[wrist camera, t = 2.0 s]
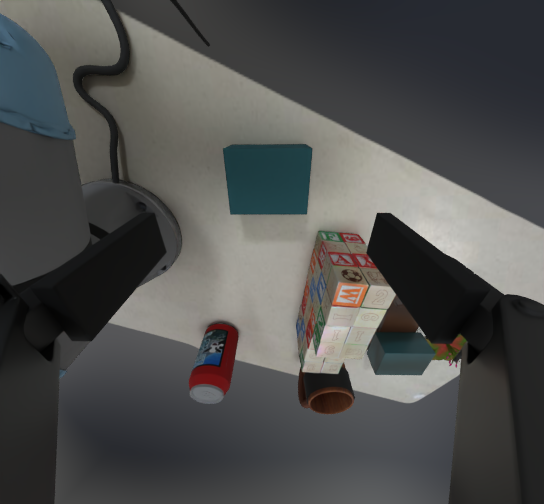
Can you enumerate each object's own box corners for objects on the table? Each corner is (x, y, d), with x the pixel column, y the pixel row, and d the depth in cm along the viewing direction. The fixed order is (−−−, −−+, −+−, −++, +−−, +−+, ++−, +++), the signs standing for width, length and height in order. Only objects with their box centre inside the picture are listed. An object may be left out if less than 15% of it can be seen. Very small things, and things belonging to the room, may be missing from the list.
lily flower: (447, 363, 48) (463, 384, 44) (404, 352, 46) (416, 373, 42) (492, 331, 42) (514, 352, 38) (444, 317, 40) (462, 338, 36)
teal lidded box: (385, 294, 37) (401, 318, 33) (435, 294, 37) (459, 319, 32) (363, 351, 46) (374, 377, 41) (404, 352, 46) (419, 378, 41)
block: (231, 144, 25) (222, 148, 21) (306, 144, 25) (312, 148, 21) (237, 201, 29) (230, 214, 25) (302, 201, 29) (306, 214, 24)
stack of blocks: (326, 328, 42) (343, 395, 32) (295, 325, 42) (302, 392, 31) (359, 233, 31) (402, 288, 20) (317, 229, 31) (339, 283, 20)
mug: (280, 353, 46) (282, 414, 36) (314, 321, 41) (328, 382, 31) (311, 366, 48) (321, 428, 38) (347, 337, 43) (369, 399, 33)
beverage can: (220, 315, 41) (201, 379, 30) (245, 331, 43) (236, 396, 33) (200, 331, 43) (176, 395, 33) (225, 345, 46) (211, 409, 35)
